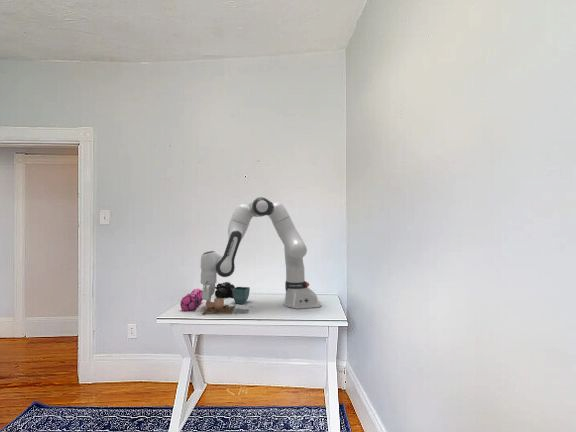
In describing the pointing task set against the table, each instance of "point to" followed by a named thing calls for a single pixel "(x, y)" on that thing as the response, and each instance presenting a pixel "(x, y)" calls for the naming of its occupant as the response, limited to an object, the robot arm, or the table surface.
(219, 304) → the toggle lever handle
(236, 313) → the mat
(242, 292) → the flower pot
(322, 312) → the table surface
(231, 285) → the film camera
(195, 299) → the pencil case
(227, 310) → the socket board
